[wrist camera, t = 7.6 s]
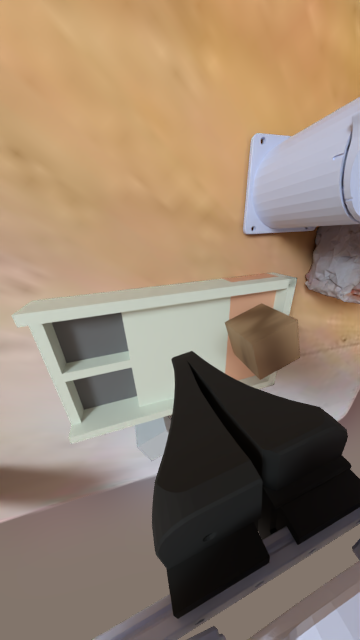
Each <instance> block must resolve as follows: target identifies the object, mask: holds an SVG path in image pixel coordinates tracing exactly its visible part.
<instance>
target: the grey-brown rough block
mask: <svg viewBox="0 0 360 640" xmlns="http://www.w3.org/2000/svg"><path fill="white" fill-rule="evenodd" d="M315 243H316V245H317V247H316V248H315V250H314V252H313V263H312V265H311V269H310V270H309V272H308V273H307V274H306V275H305V276H306V278H307V280H308V281H307V282H305V284H306V285H307V287H308V289H309V290H313V291H316V292H318V293H321V294H324V295H326V296H330V297H334V298H337V299H341V300H342V301H344V302H353V303H358V304H360V224H351V225H333V226H319V228H318V229H317V236H316V239H315Z"/></svg>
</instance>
